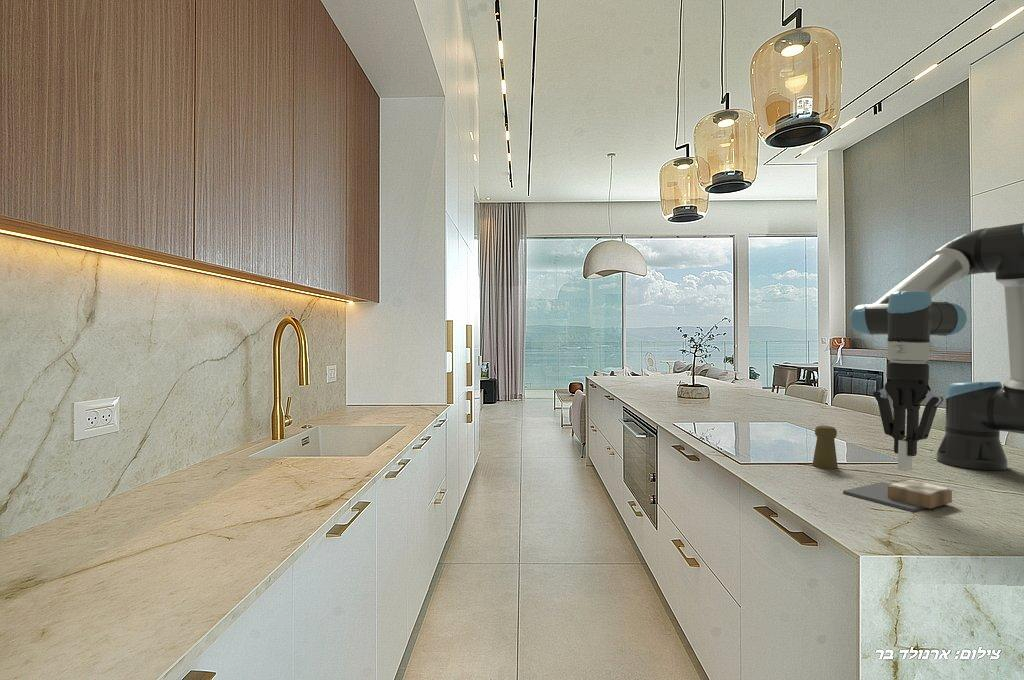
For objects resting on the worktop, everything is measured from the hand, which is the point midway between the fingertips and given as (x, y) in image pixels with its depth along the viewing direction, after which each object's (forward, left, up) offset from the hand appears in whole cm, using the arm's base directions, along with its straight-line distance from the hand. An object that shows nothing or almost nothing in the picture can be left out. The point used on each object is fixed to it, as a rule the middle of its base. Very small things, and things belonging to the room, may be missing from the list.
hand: (904, 469), depth 119 cm
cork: (-13, -26, -7) cm, 29 cm away
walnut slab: (0, -1, -4) cm, 4 cm away
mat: (0, -2, -6) cm, 7 cm away
